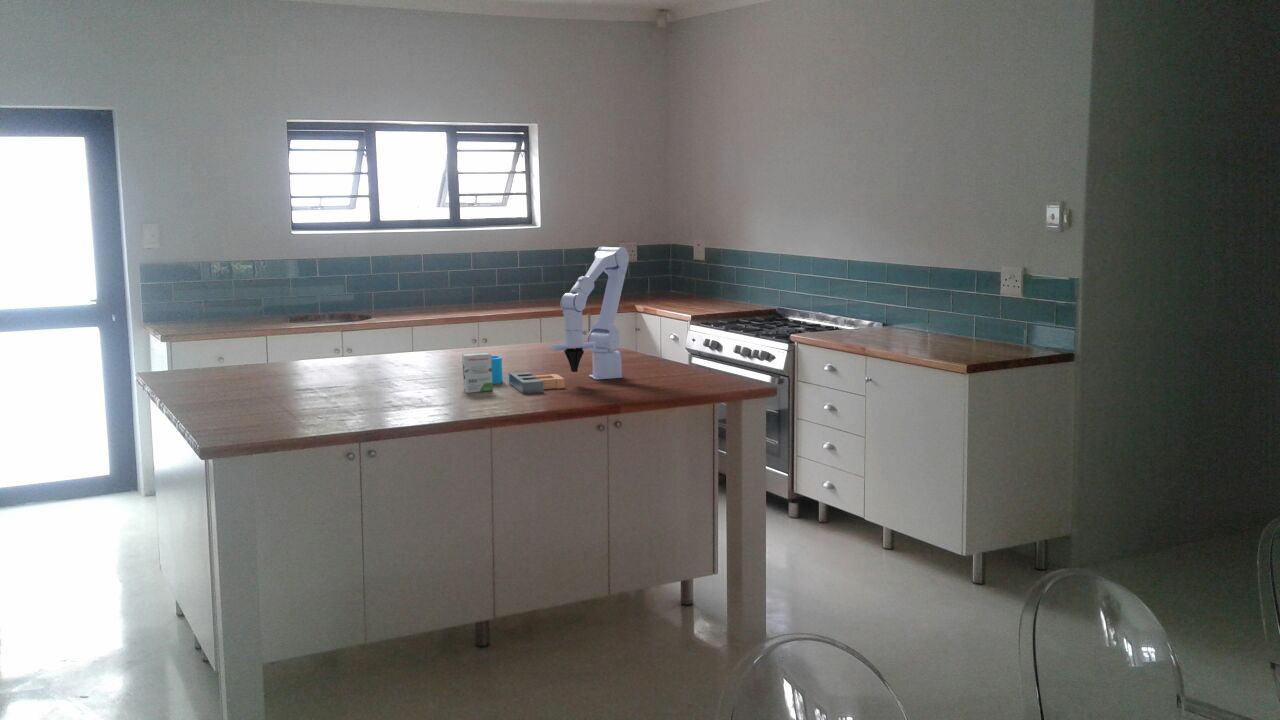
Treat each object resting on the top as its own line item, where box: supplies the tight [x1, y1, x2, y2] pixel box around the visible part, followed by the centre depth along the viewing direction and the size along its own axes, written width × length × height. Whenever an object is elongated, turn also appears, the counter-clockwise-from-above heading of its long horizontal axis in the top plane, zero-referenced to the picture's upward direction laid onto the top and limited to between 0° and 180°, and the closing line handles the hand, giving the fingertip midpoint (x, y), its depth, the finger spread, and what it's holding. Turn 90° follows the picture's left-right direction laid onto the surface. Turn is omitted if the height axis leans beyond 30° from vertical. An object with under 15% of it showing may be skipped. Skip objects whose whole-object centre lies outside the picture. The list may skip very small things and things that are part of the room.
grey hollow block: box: [508, 371, 544, 395], centre depth 362 cm, size 6×20×4 cm, turn 19°
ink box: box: [461, 352, 494, 394], centre depth 358 cm, size 9×5×12 cm, turn 111°
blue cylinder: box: [491, 355, 503, 385], centre depth 376 cm, size 12×8×8 cm
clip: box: [535, 373, 566, 390], centre depth 365 cm, size 8×10×3 cm
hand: (574, 371), depth 367 cm, fingers closed
